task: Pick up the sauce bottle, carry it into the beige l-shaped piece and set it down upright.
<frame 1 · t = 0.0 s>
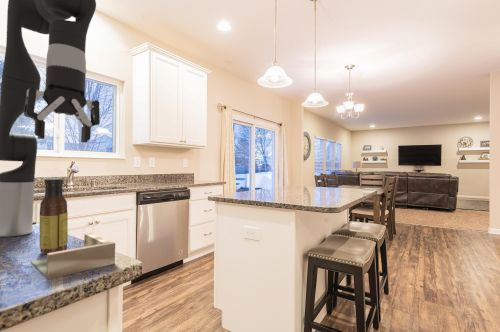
hand: (63, 140, 63), 29 cm above the counter, tool pointing down, fingers open, 8 cm apart
beige l-shaped piece: (68, 262, 67), on the counter
sauce bottle: (53, 252, 75), on the counter
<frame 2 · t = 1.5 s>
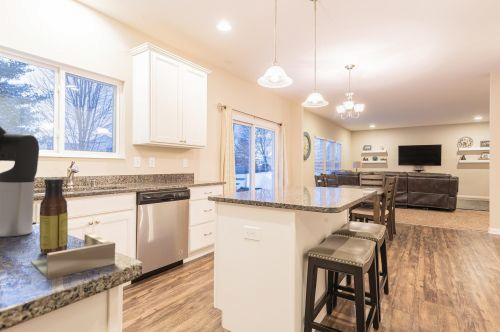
hand: (6, 156, 67), 25 cm above the counter, tool horizontal, fingers open, 8 cm apart
nothing on the counter moved.
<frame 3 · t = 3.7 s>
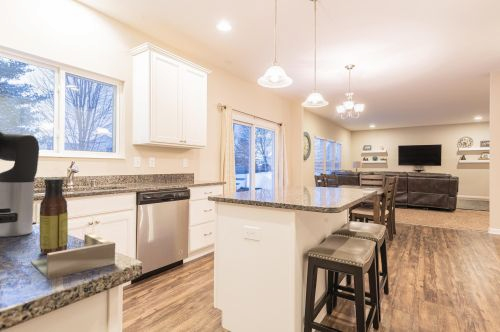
hand: (13, 214, 68), 11 cm above the counter, tool horizontal, fingers open, 8 cm apart
nothing on the counter moved.
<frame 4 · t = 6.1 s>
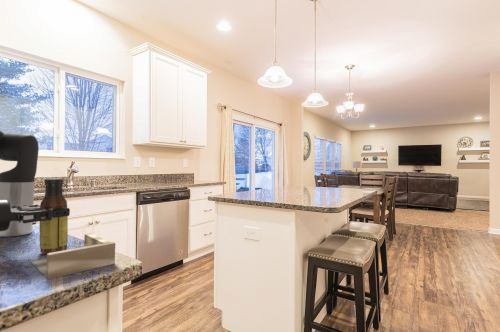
hand: (64, 210, 77), 11 cm above the counter, tool horizontal, fingers closed on sauce bottle, 6 cm apart
sauce bottle: (52, 252, 75), on the counter, touching gripper
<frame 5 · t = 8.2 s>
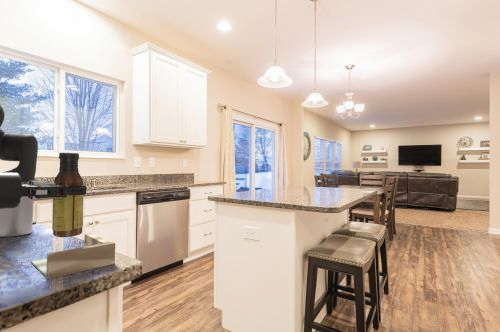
hand: (80, 189, 69), 18 cm above the counter, tool horizontal, fingers closed on sauce bottle, 6 cm apart
sauce bottle: (66, 236, 67), point 7 cm above the counter, touching gripper
when the fingers open (13 cm above the counter, at t = 10.5 s): sauce bottle drops 1 cm, resting on beige l-shaped piece.
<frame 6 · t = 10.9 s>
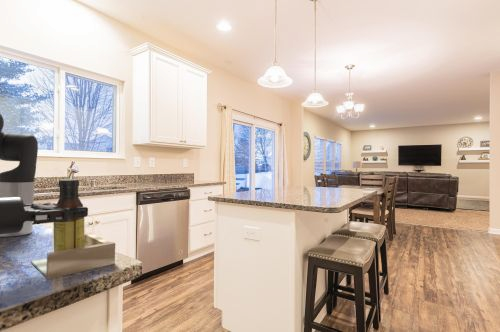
hand: (80, 209, 68), 13 cm above the counter, tool horizontal, fingers open, 8 cm apart
sauce bottle: (68, 262, 66), resting on beige l-shaped piece
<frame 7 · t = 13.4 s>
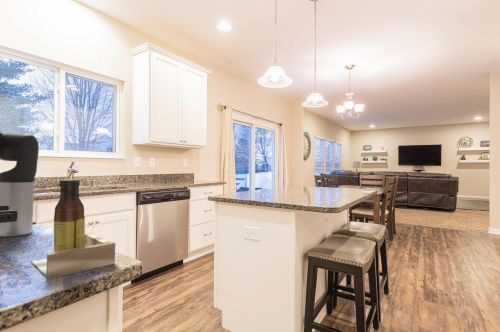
hand: (12, 212, 58), 13 cm above the counter, tool horizontal, fingers open, 8 cm apart
nothing on the counter moved.
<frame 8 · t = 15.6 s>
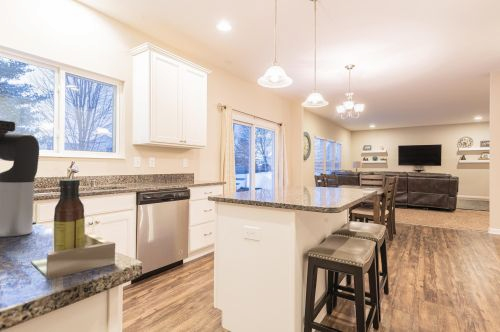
hand: (11, 128, 66), 32 cm above the counter, tool horizontal, fingers open, 8 cm apart
nothing on the counter moved.
at the end: sauce bottle tilted 0°; the gripper is holding nothing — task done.
